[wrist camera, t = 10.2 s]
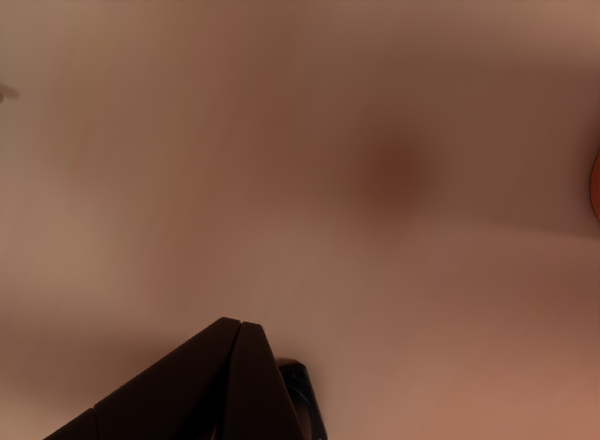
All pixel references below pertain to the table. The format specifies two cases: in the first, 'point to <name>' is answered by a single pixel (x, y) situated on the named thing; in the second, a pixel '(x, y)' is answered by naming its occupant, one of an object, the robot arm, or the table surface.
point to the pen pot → (596, 187)
